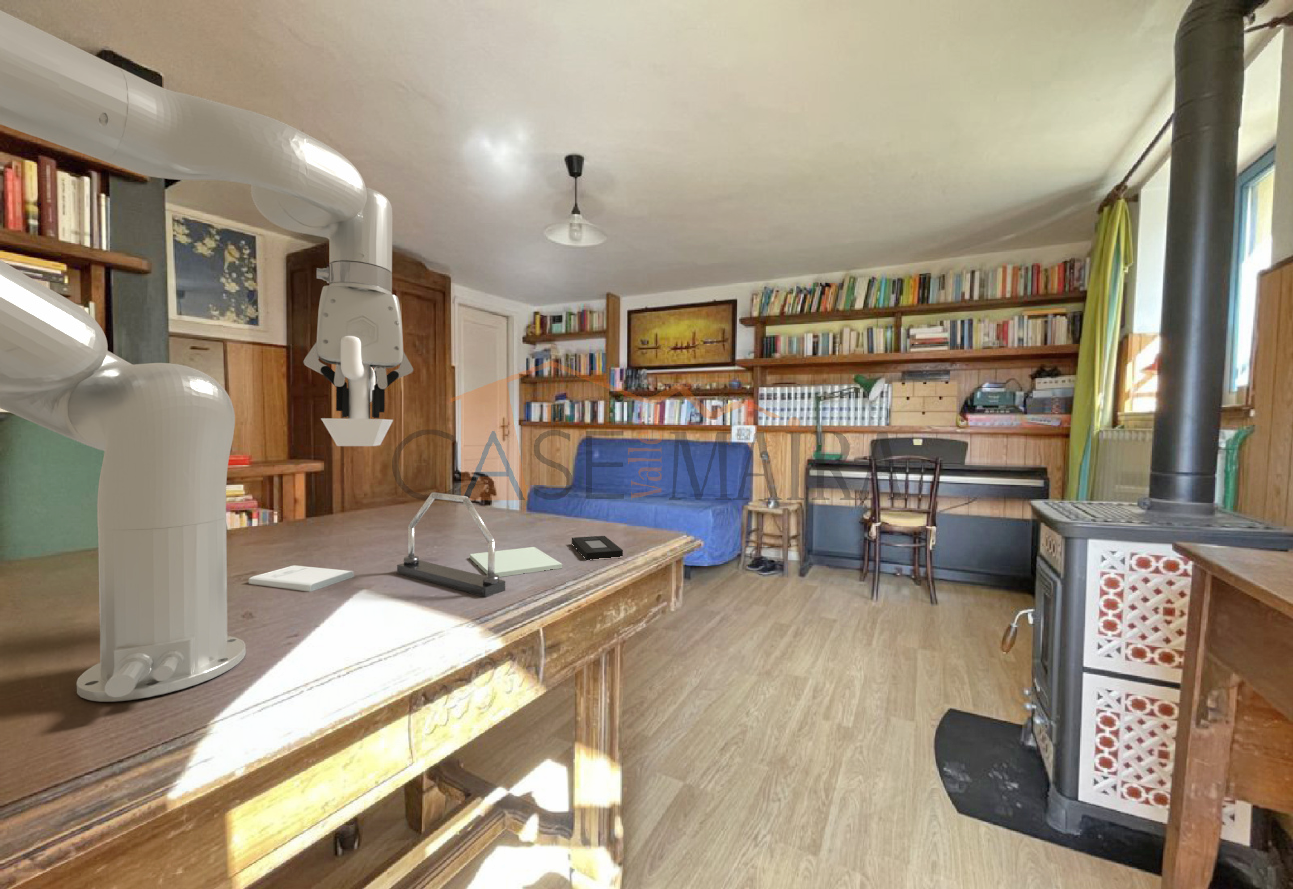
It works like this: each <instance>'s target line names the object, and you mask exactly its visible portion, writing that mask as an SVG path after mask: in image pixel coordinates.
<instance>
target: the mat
mask: <svg viewBox="0 0 1293 889" xmlns="http://www.w3.org/2000/svg"><path fill="white" fill-rule="evenodd" d="M469 559H470V560H471V561H472V562H473V563H474V564H475V565H476V566H477V565H478V566H477V567H478V568H479V569H480V570H482V571H483V573H485V574H486V575H488V551H485V552H477V553H469ZM550 569H553V570H559V569H563V563H561V562H560V561H558V560H557V559H555V558H553V557H551V556H550V555H548V554H546V553H545V552H543V551H542V550H540V549H539V548H537V547H535V546H530V547H522V548H513V549H503V550H495V574H496V575H499V578H501V577H502V578H504V577H509V576H516V575H523V573H525V574H531V573H537V572H544V570H546V571H551V570H550Z"/></svg>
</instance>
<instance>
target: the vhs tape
mask: <svg viewBox="0 0 1293 889" xmlns="http://www.w3.org/2000/svg"><path fill="white" fill-rule="evenodd" d="M572 544H573V545H574V546H573V545H572ZM571 545H572V546H573V547H575V548H577V550H578V551H579V552H580V553H581V554H582V555H583V556H584V557H585V559H586V560H590V559H599V558H611V557H620V556H623V557H624V549H622V548H621V547H620V546H618V545H617V544H615V543H614V542H613V541H612V540H611V539H609V538H608V537H607V536H606V535H596V536H595V535H593V536H578V537H571ZM575 548H574V549H575ZM577 550H576V551H577ZM578 551H577V552H578ZM579 552H578V553H579ZM580 553H579V554H580ZM581 554H580V555H581ZM582 555H581V556H582ZM583 556H582V557H583ZM585 559H584V560H585ZM586 560H585V561H586ZM590 561H591V560H590Z"/></svg>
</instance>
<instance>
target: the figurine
mask: <svg viewBox="0 0 1293 889" xmlns="http://www.w3.org/2000/svg"><path fill="white" fill-rule="evenodd" d="M341 370H342V373H343V375H344V376H345V379H346V378H347V388H349V416H347V418H335V417H333V418H327V417H326V418H325V417H322V418H320V420H321V421H322V422H323V425H324V427H325V429H326V430H327V431H328V434H330V436H331V439H332V440H333V442H334V443H335V445H336V447H378V446H381V445H382V442H383V441H384V439H385V437H386V435H387V433H388V431H389V429H390V427H391V425H392V424H393V421H394V419H385V418H371V403H372V390H374V385H376V380H375V371H374V369H373V367H370V365H368V364H362V359H361V341H360V339H359V338H357V337H354V336H345V337H343V338H342V339H341Z"/></svg>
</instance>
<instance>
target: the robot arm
mask: <svg viewBox="0 0 1293 889" xmlns="http://www.w3.org/2000/svg"><path fill="white" fill-rule="evenodd" d="M0 125H1V126H4V127H7V128H10V129H12V130H15V131H17V132H19V133H20V132H21V133H24V134H27V135H30V136H32V137H35V138H39V139H41V140H44V141H47V142H49V143H53V144H55V145H58V146H61V147H63V148H67V149H69V150H72V151H75V152H77V153H81V154H83V155H85V156H89V157H92V158H95V159H97V160H101V161H103V162H106V163H108V164H111V165H114V166H116V167H119V168H122V169H125V170H128V171H131V172H133V173H136V174H140V175H143V176H146V177H152V178H158V179H167V180H177V181H179V180H180V181H225V182H232V183H233V182H234V183H240V184H246V185H249V186H250V185H251V187H250V195H251V198H252V201H253V204H254V206H255V207H256V209H257V211H258V212H259V213H260V214H261V215H262V216H263V217H264V218H265V219H267V221H269V222H270V223H271V224H274V225H275V226H278V227H279V228H282V229H284V230H287V231H291V232H293V233H294V232H295V233H298V234H299V233H300V234H303V235H304V234H306V235H309V236H310V235H312V236H316V237H322V238H326V239H328V241H329V242H328V244H329V245H328V246H329V253H328V255H329V257H328V258H329V260H328V261H329V266H326V268H325V267H323V268H318V267H316V279H319V280H323V281H326V283H327V284H329V285H324V286H323V287H322V289H321V294H320V298H319V302H318V303H319V305H318V311H317V312H318V313H317V314H318V316H317V329H316V342H315V343H314V344H313V346H312V347H311V349H310V351H308V353H307V355H306V356H305V358H304V360H303V364H304V366H306V367H307V368H309V369H311V370H312V371H315V372H316V373H319V374H320V375H323V377H324V378H326V380H327V381H329V382H330V383H331V384H332V385H334V387H335V389H336V390H335V393H336V396H335V397H336V398H335V399H336V400H335V401H336V402H335V405H336V406H335V411H336V412H341V418H348V416H349V388H348V382H346V381H345V380H346V377H345V376H344V375H343V373H342V370H341V339H342V338H343V337H345V336H354V337H357V338H359V339H360V341H361V359H362V364H368V365H370V367H372V368H374V369H373V370H374V373H375V385H374V390H372V402H371V418H373V419H380V413H385V410H386V409H385V402H386V400H385V398H386V396H385V393H386V392H385V391H386V390H385V389H387V388H388V387H389V386H391V385H392V384H393V383H394V382H396V381H397V379H401V378H402V377H404V376H407V375H409V374H412V373H413V372H414V368H413V366H412V364H411V362H410V361H409V359H408V356H407V354H406V353H405V351H404V340H403V339H404V338H403V336H404V335H403V321H402V312H401V304H400V300H399V297H398V296H397V295H395V294H393V274H392V273H393V208H392V207H393V206H392V204H391V202H390V200H389V199H388V198H387V197H386V196H385V195H384V194H382V193H381V192H379V191H378V190H376V189H374V188H373V189H372V188H371V187H366V183H365V181H364V179H363V176H362V175H361V173H360V172H359V170H358V169H357V167H356V166H354V164H353V163H352V162H351V161H350V159H348V158H347V157H345V156H344V155H343V154H342V153H341V152H339V151H337V150H336V149H334V148H333V147H332V146H329V145H328V144H326V143H325V142H323V141H321V140H319V139H317V138H316V137H313V136H311V135H309V134H308V133H305V132H303V131H302V130H299V129H298V128H295V127H294V126H291V125H289V124H288V123H286V122H283V121H280V120H278V119H276V118H274V117H271V116H267V115H264V114H262V113H259V112H257V111H256V112H255V111H253V110H249V109H245V108H241V107H237V106H234V105H229V104H227V103H222V102H220V101H219V102H218V101H214V100H211V99H208V98H204V97H201V96H197V95H191V94H188V93H184V92H179V91H173V90H171V89H167V88H164V87H162V86H160V85H157V84H154V83H153V82H150V81H148V80H146V79H144V78H142V77H140V76H138V75H136V74H134V73H132V72H130V71H127V70H126V69H123V68H122V67H119V66H117V65H114V64H112V63H111V62H108V61H106V60H104V59H102V58H100V57H99V56H95V55H94V54H91V53H90V52H87V51H85V50H83V49H81V48H79V47H78V46H75V45H73V44H71V43H69V42H67V41H64V40H63V39H61V38H58V37H57V36H54V35H53V34H51V33H49V32H47V31H44V30H42V29H40V28H38V27H36V26H34V25H33V24H31V23H28V22H26V21H23V20H22V19H19V18H17V17H15V16H13V15H11V14H9V13H7V12H5V11H2V10H1V9H0ZM108 347H109V346H108V340H107V337H106V335H105V333H104V330H103V328H102V327H101V325H100V324H99V323H98V322H97V320H96V319H95V317H93V316H92V315H91V314H89V312H87V311H86V310H85V309H84V308H82V306H79V305H78V304H77V303H75V302H73V301H72V300H71V299H68V298H67V297H65V296H63V295H61V294H60V293H58V292H56V291H54V290H53V289H50V288H49V287H47V286H46V285H44V284H42V283H41V282H39V281H37V280H35V279H33V278H31V277H30V276H28V275H27V274H25V273H24V272H21V271H20V270H18V269H16V268H15V267H13V266H11V265H10V264H8V263H6V262H4V261H3V260H1V259H0V410H3V411H6V412H9V413H11V414H13V415H15V416H17V417H20V418H22V419H25V420H26V421H29V422H31V423H34V424H36V425H38V426H40V427H43V428H45V429H47V430H50V431H52V432H55V433H57V434H59V435H61V436H64V437H66V438H68V439H71V440H73V441H75V442H78V443H80V444H83V445H86V446H88V447H91V448H94V449H96V450H99V451H103V452H104V453H103V459H102V465H101V468H100V473H99V474H100V475H99V480H98V489H97V506H96V507H97V508H96V509H97V510H96V511H97V513H96V515H97V522H96V523H97V534H98V537H97V538H98V540H97V542H98V547H97V548H98V583H99V584H98V594H99V595H98V596H99V599H98V600H99V601H98V602H99V603H98V604H99V606H98V608H99V651H100V652H99V654H100V655H99V660H100V662H98V663H96V664H94V665H92V666H90V667H89V668H88V669H87V670H85V671H83V673H81V675H80V676H79V677H78V678H77V680H76V694H77V695H78V696H79V697H80V698H83V699H85V700H88V701H92V702H107V703H108V702H110V703H111V702H114V703H115V702H125V701H127V702H128V701H133V700H140V699H145V698H151V697H155V696H160V695H161V696H162V695H165V694H169V693H173V692H177V691H180V690H181V691H182V690H184V689H187V688H191V687H192V686H196V685H199V684H201V683H204V682H207V681H210V680H211V679H214V678H216V677H219V676H221V675H223V674H224V673H226V672H228V671H229V670H231V669H233V668H234V667H236V666H237V665H238V664H240V663H241V661H242V660H243V659H244V658H245V656H246V652H247V650H246V642H244V640H242V639H240V638H238V637H235V636H232V635H231V636H230V635H228V585H227V584H228V583H227V582H228V581H227V580H228V579H227V578H228V571H227V570H228V569H227V564H228V563H227V558H228V556H227V478H228V468H229V462H230V461H229V460H230V456H231V455H230V454H231V449H232V445H233V440H234V436H235V435H234V432H235V425H236V416H235V414H236V413H235V409H234V406H233V402H232V400H231V398H230V396H229V394H228V391H227V390H226V389H225V388H224V387H223V386H222V385H221V383H219V382H218V381H217V380H216V379H215V378H214V377H212V376H210V375H209V374H207V373H205V372H203V371H201V370H200V369H198V368H197V369H196V368H194V367H191V366H187V365H184V364H177V363H169V362H153V363H152V362H151V363H150V362H149V363H138V364H137V363H136V364H132V363H131V362H129V361H126V360H125V359H124V358H122V357H120V356H118V355H116V354H114V353H113V352H111V351H109V350H108ZM319 359H320V360H319ZM321 361H322V362H324V363H326V364H324V363H322V362H321ZM327 364H330V365H335V369H332V368H331V367H330V366H328V365H327ZM398 365H399V368H396V369H394V370H392V371H390V372H389V373H388V374H387V369H393V368H395V367H398Z"/></svg>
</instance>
